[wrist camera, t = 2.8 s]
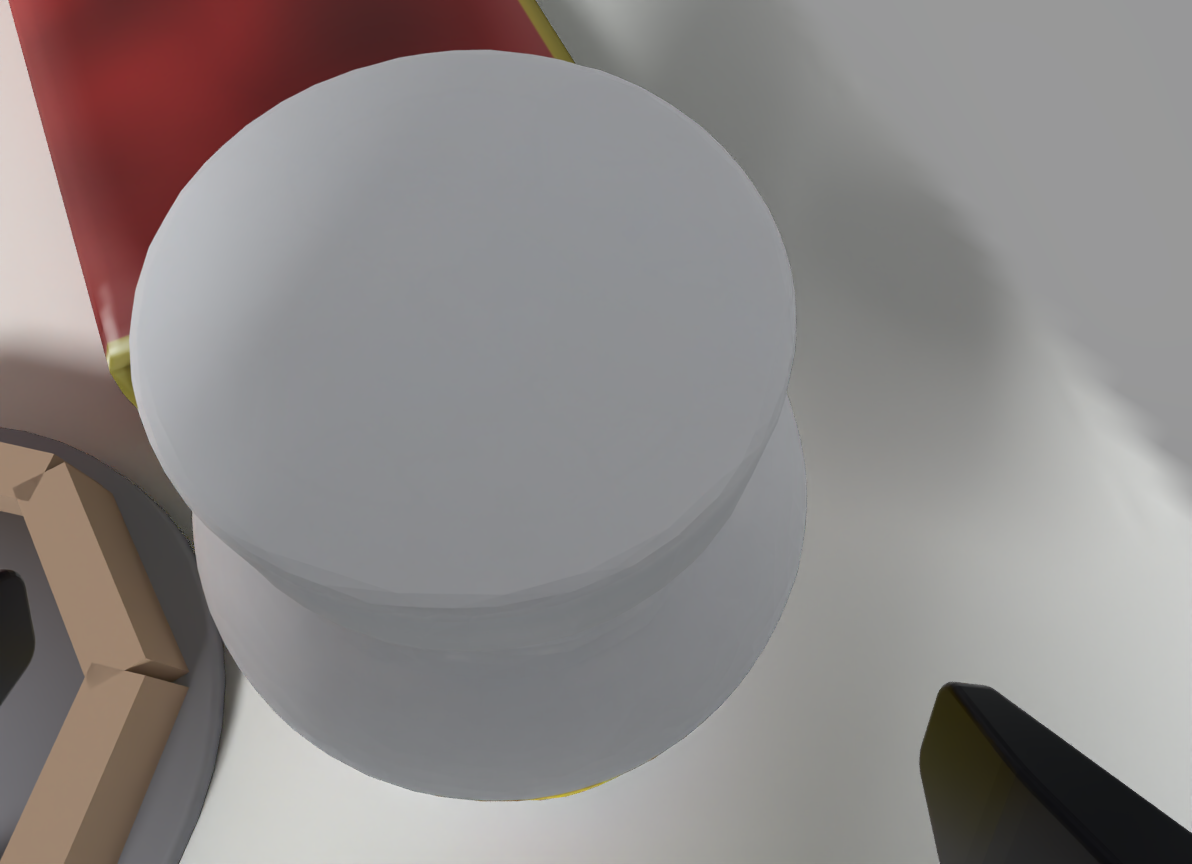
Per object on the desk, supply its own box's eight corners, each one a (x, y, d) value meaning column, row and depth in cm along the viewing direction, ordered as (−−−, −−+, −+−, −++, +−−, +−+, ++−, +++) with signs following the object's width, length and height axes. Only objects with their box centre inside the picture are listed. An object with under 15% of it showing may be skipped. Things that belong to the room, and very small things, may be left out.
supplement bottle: (754, 610, 18) (1123, 249, 6) (555, 876, 15) (511, 1143, 4) (524, 427, 19) (455, -141, 8) (314, 646, 17) (-247, 326, 5)
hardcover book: (179, 445, 19) (81, 359, 15) (20, -86, 27) (-73, -234, 23) (630, 271, 22) (642, 159, 18) (368, -173, 29) (337, -320, 25)
